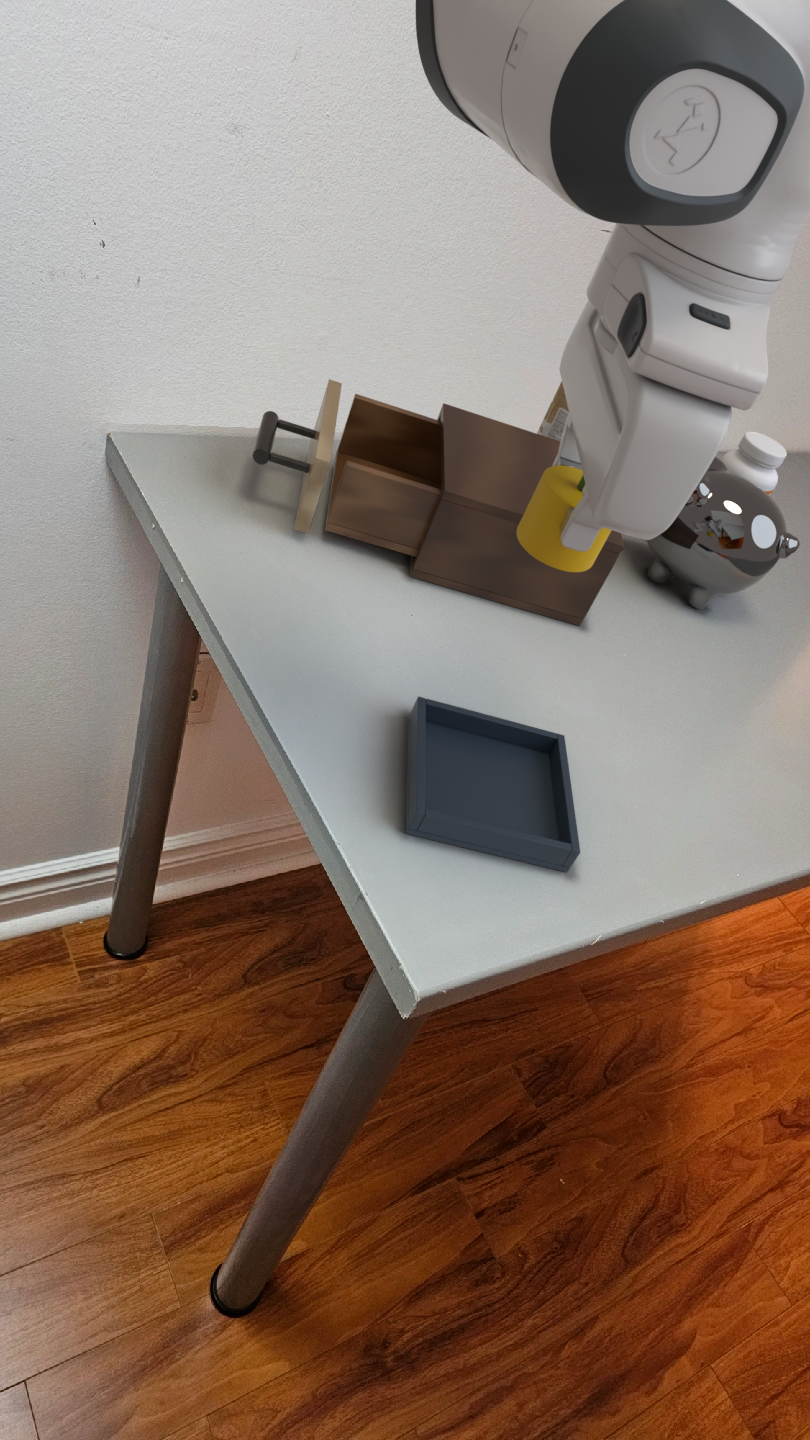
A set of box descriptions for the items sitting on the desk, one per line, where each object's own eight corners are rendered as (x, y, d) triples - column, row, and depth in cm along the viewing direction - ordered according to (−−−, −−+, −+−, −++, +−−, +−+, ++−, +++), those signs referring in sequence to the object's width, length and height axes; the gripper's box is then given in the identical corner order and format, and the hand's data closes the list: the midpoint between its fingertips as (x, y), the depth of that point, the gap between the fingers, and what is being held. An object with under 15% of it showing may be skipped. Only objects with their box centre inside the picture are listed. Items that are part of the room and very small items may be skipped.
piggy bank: (636, 524, 109) (690, 426, 102) (762, 602, 106) (828, 506, 99) (594, 559, 101) (650, 455, 94) (730, 644, 98) (799, 543, 90)
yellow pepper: (518, 558, 63) (554, 484, 60) (513, 512, 67) (546, 441, 64) (598, 582, 64) (637, 511, 61) (588, 536, 68) (624, 467, 65)
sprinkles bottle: (524, 461, 112) (578, 342, 103) (563, 479, 111) (620, 362, 103) (514, 477, 108) (569, 356, 100) (555, 496, 108) (613, 376, 99)
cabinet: (409, 576, 89) (444, 490, 83) (412, 484, 100) (443, 402, 95) (580, 626, 92) (624, 546, 86) (563, 530, 103) (602, 454, 98)
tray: (405, 833, 67) (416, 812, 66) (408, 716, 75) (417, 695, 74) (567, 872, 69) (580, 852, 68) (552, 754, 78) (564, 734, 76)
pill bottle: (736, 558, 111) (794, 468, 104) (682, 533, 111) (737, 441, 104) (738, 532, 116) (794, 445, 109) (687, 509, 116) (740, 420, 109)
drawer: (237, 512, 85) (256, 439, 81) (259, 430, 96) (276, 361, 92) (460, 578, 89) (489, 511, 85) (457, 492, 100) (483, 428, 96)
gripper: (597, 212, 62) (507, 419, 71) (653, 354, 47) (530, 596, 56) (692, 248, 64) (593, 448, 72) (777, 398, 48) (638, 627, 57)
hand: (566, 514), depth 64 cm, fingers closed on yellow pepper, 5 cm apart
